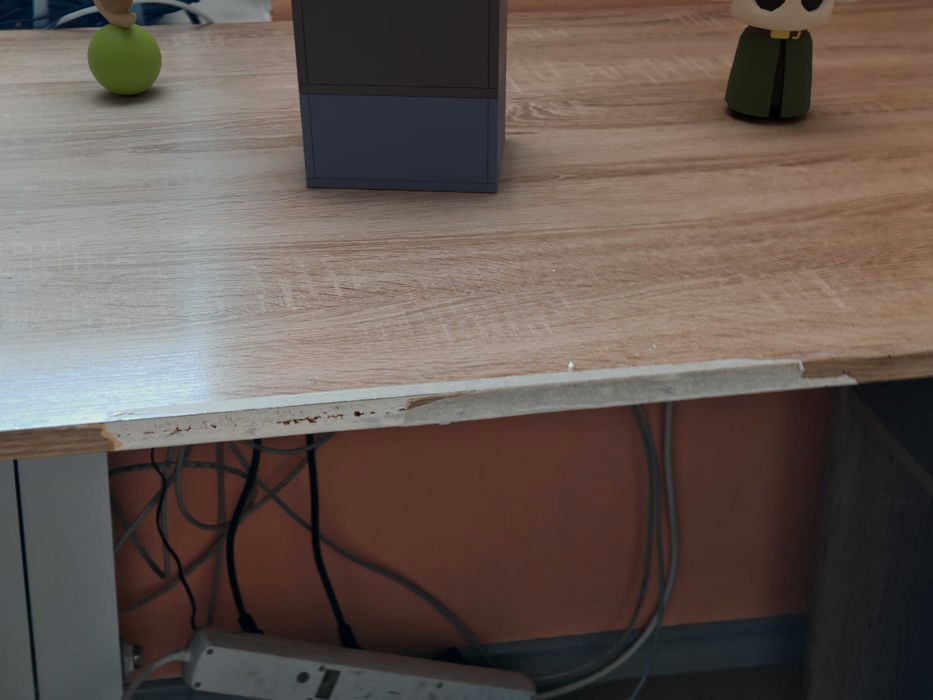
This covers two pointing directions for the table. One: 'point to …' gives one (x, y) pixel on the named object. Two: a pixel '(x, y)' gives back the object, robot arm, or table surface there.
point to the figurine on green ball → (123, 51)
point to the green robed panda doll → (774, 55)
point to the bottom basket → (404, 141)
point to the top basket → (400, 47)
